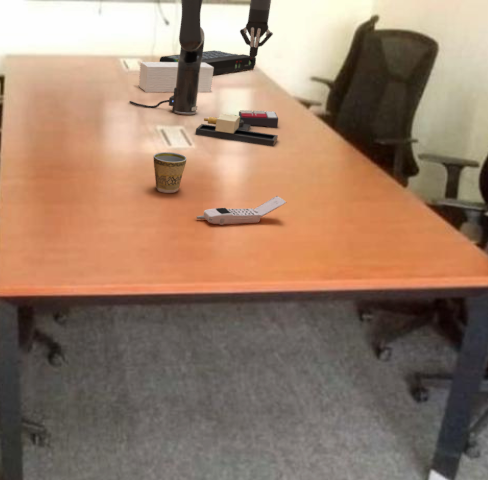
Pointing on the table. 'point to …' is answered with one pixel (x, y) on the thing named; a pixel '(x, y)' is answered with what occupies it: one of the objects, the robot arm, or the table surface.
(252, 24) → the robot arm
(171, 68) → the stack of papers
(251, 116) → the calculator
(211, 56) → the computer keyboard
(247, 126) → the button box
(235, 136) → the rail
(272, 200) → the mobile phone
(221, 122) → the nozzle carriage
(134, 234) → the table surface
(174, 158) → the ceramic cup
